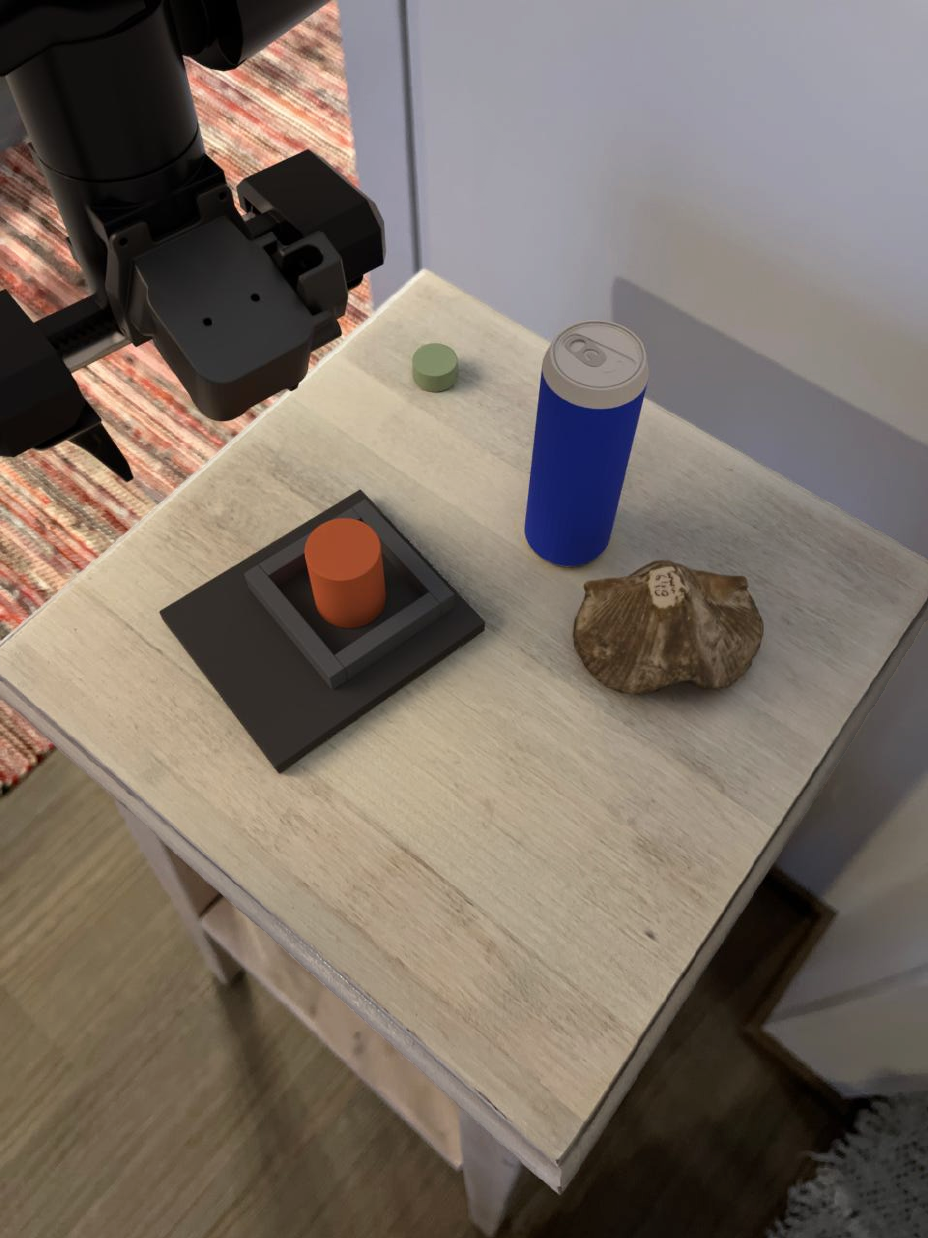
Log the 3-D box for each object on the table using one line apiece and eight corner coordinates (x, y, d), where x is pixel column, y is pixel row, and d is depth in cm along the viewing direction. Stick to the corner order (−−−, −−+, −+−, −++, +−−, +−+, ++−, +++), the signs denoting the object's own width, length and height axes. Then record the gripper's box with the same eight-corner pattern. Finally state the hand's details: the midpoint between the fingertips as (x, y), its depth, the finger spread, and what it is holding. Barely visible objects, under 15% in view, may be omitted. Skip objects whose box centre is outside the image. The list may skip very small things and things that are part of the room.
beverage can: (626, 533, 60) (674, 350, 47) (573, 587, 58) (608, 411, 45) (559, 488, 62) (588, 299, 49) (506, 539, 60) (521, 356, 47)
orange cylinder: (342, 641, 55) (333, 593, 51) (301, 593, 56) (289, 543, 52) (400, 603, 56) (396, 553, 52) (359, 557, 58) (351, 505, 53)
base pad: (279, 774, 52) (271, 756, 50) (162, 620, 57) (151, 596, 55) (485, 630, 57) (486, 607, 54) (361, 498, 61) (358, 472, 59)
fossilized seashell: (770, 573, 56) (593, 554, 58) (776, 565, 49) (577, 544, 52) (752, 706, 56) (577, 681, 58) (756, 715, 49) (559, 687, 52)
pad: (431, 399, 65) (430, 382, 64) (403, 372, 67) (402, 356, 65) (466, 378, 66) (467, 361, 65) (439, 352, 68) (438, 336, 66)
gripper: (-35, 387, 29) (120, 647, 42) (467, 141, 35) (462, 437, 48) (-180, 191, 33) (3, 484, 46) (289, 3, 39) (330, 310, 53)
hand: (209, 429), depth 48 cm, fingers open, 9 cm apart
